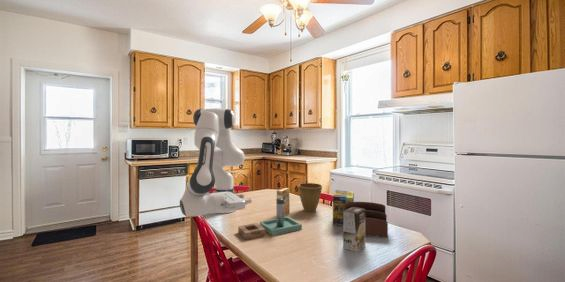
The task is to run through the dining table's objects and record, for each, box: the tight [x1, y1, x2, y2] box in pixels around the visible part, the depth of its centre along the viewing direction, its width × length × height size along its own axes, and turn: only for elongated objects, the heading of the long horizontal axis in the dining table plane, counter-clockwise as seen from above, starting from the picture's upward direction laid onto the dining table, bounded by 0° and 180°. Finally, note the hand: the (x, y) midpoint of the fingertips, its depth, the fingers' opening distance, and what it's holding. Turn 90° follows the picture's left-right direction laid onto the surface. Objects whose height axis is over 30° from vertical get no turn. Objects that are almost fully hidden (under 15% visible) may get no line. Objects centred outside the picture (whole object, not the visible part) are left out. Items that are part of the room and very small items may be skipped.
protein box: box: [332, 190, 355, 227], centre depth 143 cm, size 10×15×16 cm
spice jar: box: [275, 197, 285, 227], centre depth 134 cm, size 4×4×14 cm
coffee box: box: [342, 207, 366, 252], centre depth 112 cm, size 9×6×16 cm
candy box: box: [276, 187, 291, 217], centre depth 155 cm, size 9×4×15 cm, turn 150°
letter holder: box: [345, 201, 389, 239], centre depth 128 cm, size 10×20×14 cm, turn 75°
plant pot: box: [297, 182, 323, 213], centre depth 164 cm, size 15×15×16 cm
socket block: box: [237, 222, 266, 240], centre depth 126 cm, size 10×10×3 cm
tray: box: [259, 216, 303, 237], centre depth 134 cm, size 14×17×2 cm
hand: (247, 198), depth 125 cm, fingers open, 8 cm apart
